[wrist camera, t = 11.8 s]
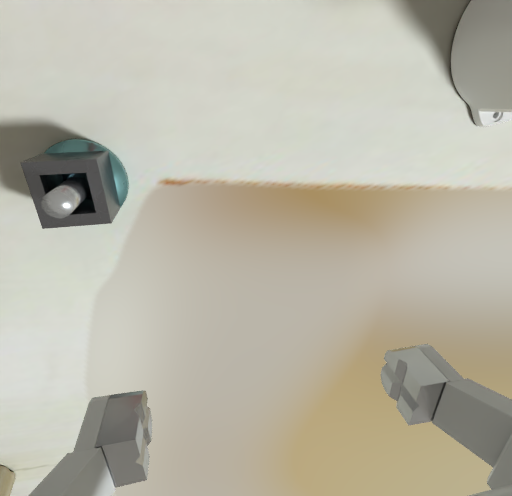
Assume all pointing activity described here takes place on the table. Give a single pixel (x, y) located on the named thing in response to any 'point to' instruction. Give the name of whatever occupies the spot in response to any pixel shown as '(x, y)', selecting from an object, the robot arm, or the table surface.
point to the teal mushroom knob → (80, 180)
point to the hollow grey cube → (50, 176)
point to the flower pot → (6, 481)
